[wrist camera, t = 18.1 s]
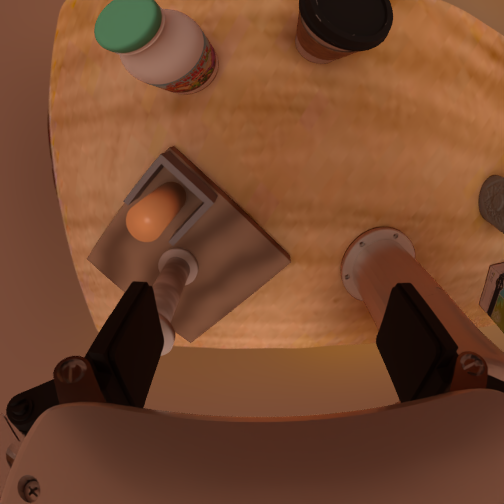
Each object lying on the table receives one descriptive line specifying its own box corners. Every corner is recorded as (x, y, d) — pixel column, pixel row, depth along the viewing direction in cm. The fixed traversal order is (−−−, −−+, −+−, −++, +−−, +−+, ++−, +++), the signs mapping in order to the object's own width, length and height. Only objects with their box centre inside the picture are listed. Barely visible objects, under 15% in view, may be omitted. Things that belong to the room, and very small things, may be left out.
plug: (192, 196, 35) (171, 222, 26) (173, 217, 37) (147, 249, 28) (169, 175, 34) (140, 194, 25) (151, 197, 35) (118, 223, 26)
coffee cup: (345, 19, 26) (390, -26, 13) (352, 74, 30) (407, 51, 16) (281, 16, 27) (296, -39, 13) (288, 73, 30) (310, 41, 17)
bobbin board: (289, 255, 41) (307, 336, 26) (192, 335, 48) (172, 415, 32) (173, 146, 34) (114, 167, 19) (92, 253, 41) (33, 315, 26)
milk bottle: (149, 82, 31) (57, 57, 12) (179, 33, 28) (112, -32, 10) (199, 104, 32) (139, 87, 14) (230, 54, 29) (203, -13, 11)
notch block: (217, 195, 35) (214, 203, 32) (179, 235, 38) (173, 246, 34) (169, 150, 33) (160, 153, 30) (134, 194, 35) (123, 201, 32)
